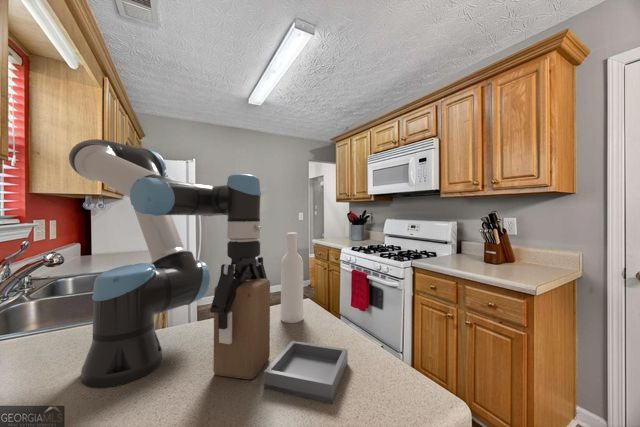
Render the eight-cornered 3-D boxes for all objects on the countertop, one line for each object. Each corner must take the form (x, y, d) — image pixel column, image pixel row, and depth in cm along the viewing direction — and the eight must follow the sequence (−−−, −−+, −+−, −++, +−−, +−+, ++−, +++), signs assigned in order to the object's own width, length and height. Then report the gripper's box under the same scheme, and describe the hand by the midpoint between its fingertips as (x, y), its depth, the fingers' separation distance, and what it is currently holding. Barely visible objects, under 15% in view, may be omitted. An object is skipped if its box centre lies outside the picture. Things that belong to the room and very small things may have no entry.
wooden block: (253, 382, 57) (254, 288, 57) (211, 376, 59) (212, 285, 59) (271, 358, 67) (271, 278, 67) (234, 354, 69) (235, 276, 69)
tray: (263, 388, 55) (263, 371, 55) (292, 354, 69) (292, 340, 69) (331, 403, 50) (331, 385, 50) (347, 363, 64) (347, 349, 64)
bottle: (281, 324, 88) (282, 233, 88) (279, 316, 95) (279, 232, 96) (305, 322, 90) (305, 233, 91) (301, 314, 98) (301, 232, 98)
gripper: (223, 245, 50) (223, 358, 50) (281, 236, 74) (281, 313, 74) (191, 244, 53) (190, 352, 52) (257, 236, 76) (257, 311, 76)
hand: (243, 330), depth 63 cm, fingers open, 13 cm apart
